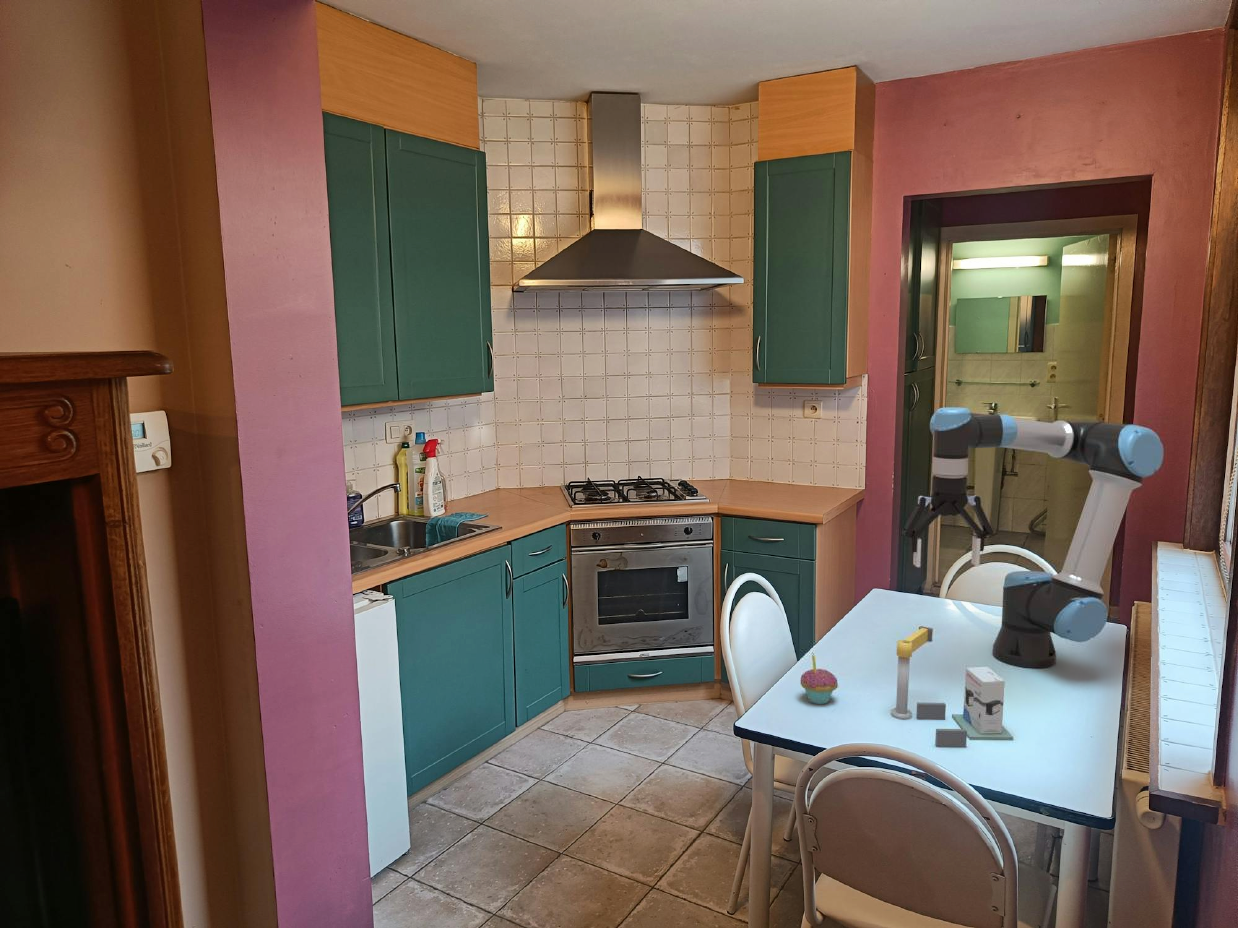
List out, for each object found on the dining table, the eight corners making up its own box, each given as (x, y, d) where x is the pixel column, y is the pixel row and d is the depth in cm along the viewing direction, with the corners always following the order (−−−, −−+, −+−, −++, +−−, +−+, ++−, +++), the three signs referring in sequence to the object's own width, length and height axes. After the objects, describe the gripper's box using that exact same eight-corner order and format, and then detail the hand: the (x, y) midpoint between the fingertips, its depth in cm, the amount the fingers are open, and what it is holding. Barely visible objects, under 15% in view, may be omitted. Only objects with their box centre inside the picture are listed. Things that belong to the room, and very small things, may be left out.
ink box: (962, 717, 192) (964, 666, 190) (983, 716, 192) (986, 665, 190) (980, 734, 183) (983, 681, 182) (1002, 733, 184) (1006, 681, 182)
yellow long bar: (908, 659, 190) (908, 646, 190) (894, 655, 192) (894, 642, 192) (932, 640, 201) (933, 628, 201) (919, 637, 203) (919, 625, 203)
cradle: (938, 711, 196) (941, 653, 194) (966, 747, 179) (969, 684, 177) (888, 710, 197) (891, 653, 195) (911, 746, 180) (914, 684, 178)
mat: (992, 717, 193) (992, 714, 193) (1013, 739, 182) (1013, 737, 182) (951, 716, 193) (952, 714, 193) (969, 739, 183) (969, 736, 182)
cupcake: (816, 710, 197) (817, 659, 195) (792, 696, 205) (793, 648, 203) (844, 702, 201) (846, 653, 199) (820, 689, 209) (821, 641, 207)
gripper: (997, 471, 202) (993, 560, 205) (890, 473, 202) (887, 561, 206) (1011, 477, 195) (1006, 568, 198) (900, 478, 195) (897, 570, 198)
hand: (945, 565), depth 202 cm, fingers open, 13 cm apart
